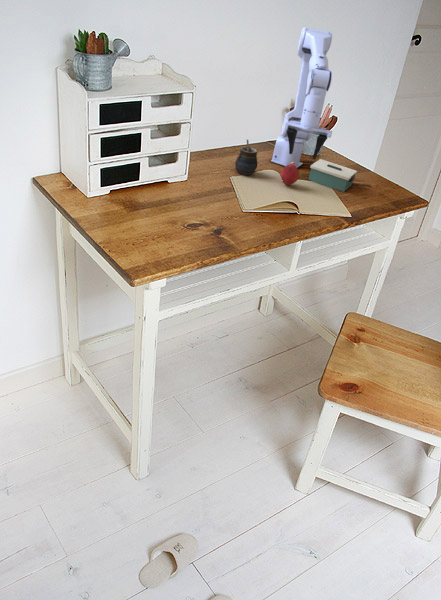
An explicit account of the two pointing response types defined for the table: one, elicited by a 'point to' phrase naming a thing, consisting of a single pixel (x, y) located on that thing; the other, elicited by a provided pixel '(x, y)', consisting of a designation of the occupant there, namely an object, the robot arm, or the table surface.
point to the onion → (289, 174)
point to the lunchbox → (332, 175)
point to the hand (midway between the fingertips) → (302, 156)
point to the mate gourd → (246, 160)
